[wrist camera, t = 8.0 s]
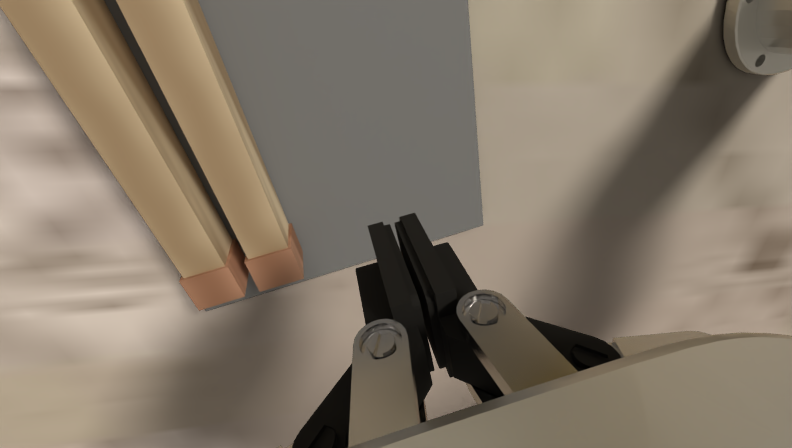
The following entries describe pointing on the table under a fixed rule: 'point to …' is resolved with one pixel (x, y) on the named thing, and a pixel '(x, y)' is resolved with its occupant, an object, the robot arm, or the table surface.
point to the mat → (349, 116)
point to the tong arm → (217, 132)
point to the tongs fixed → (133, 138)
